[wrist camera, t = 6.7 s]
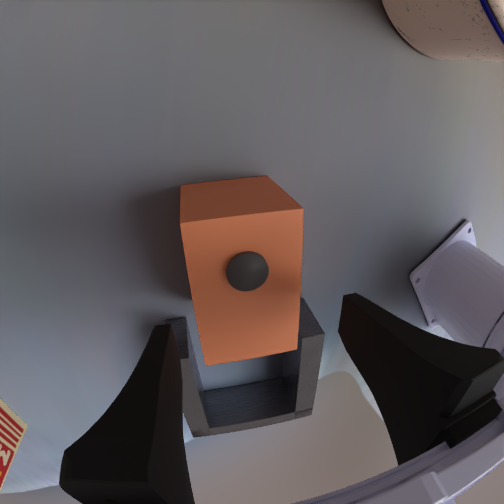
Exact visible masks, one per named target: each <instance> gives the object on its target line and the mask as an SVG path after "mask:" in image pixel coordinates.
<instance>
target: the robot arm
mask: <svg viewBox="0 0 504 504" xmlns="http://www.w3.org/2000/svg"><path fill="white" fill-rule="evenodd" d="M410 280H411V282H412V285H413V287H414V289H415V292H416V294H417V297H418V299H419V302H420V304H421V307H422V309H423V312H424V314H425V317H426V320H427V322H428V325H429V327H430V328H431V329H434V328H436V327H437V326H438V325H440V326H441V327H442V328H443V329H444V330H445V331H446V332H447V333H448V334H449V335H450V336H451V337H452V338H453V339H454V341H451V340H448V339H445V338H442V337H439V336H437V335H434V334H431V333H429V332H427V331H424V330H422V329H420V328H418V327H415V326H413V325H412V324H410V323H408V322H406V321H404V320H402V319H400V318H398V317H397V316H395V315H393V314H391V313H390V312H388V311H386V310H385V309H383V308H381V307H380V306H378V305H376V304H375V303H373V302H371V301H370V300H368V299H366V298H364V297H363V296H361V295H359V294H357V293H353V294H348V295H343V303H342V309H341V316H340V322H339V328H338V333H339V335H340V337H341V340H342V342H343V344H344V346H345V349H346V351H347V352H348V354H349V356H350V357H351V359H352V361H353V362H354V364H355V366H356V367H357V369H358V370H359V372H360V374H361V375H362V377H363V378H364V380H365V382H366V383H367V385H368V387H369V388H370V390H371V392H372V394H373V396H374V398H375V400H376V403H377V405H378V407H379V409H380V412H381V414H382V417H383V419H384V422H385V424H386V427H387V430H388V432H389V435H390V438H391V441H392V444H393V448H394V451H395V454H396V458H397V462H398V466H397V467H395V468H393V469H391V470H388V471H386V472H384V473H381V474H379V475H377V476H374V477H372V478H369V479H367V480H364V481H362V482H359V483H357V484H354V485H351V486H348V487H346V488H343V489H340V490H337V491H334V492H331V493H328V494H325V495H321V496H318V497H315V498H311V499H307V500H304V501H300V502H296V503H292V504H456V503H455V501H454V499H455V498H456V497H458V496H459V495H461V494H462V493H463V492H465V491H466V490H468V489H469V488H470V487H472V486H473V485H474V484H476V483H477V482H479V481H480V480H481V479H482V478H484V477H485V476H486V475H488V474H489V473H490V472H491V471H492V470H494V469H495V468H496V467H497V466H499V465H500V464H501V463H502V462H503V461H504V266H503V265H501V264H500V263H498V262H497V261H496V260H494V259H493V258H491V257H490V256H488V255H487V254H486V253H484V252H483V251H481V250H480V249H478V248H477V247H476V242H475V237H474V232H473V227H472V223H471V222H470V221H469V220H466V221H465V222H464V223H463V224H462V225H461V226H460V227H459V228H458V229H457V230H456V231H455V232H454V233H453V234H452V235H451V236H450V237H449V238H448V239H447V240H446V241H445V242H444V243H443V244H442V245H441V246H440V247H439V248H438V249H436V250H435V251H434V252H433V253H432V254H431V255H430V256H429V257H428V258H427V259H426V260H425V261H424V262H422V263H421V264H420V265H419V266H418V267H417V268H416V269H415V270H414V271H412V273H411V274H410ZM182 404H183V381H182V371H181V361H180V357H179V353H178V350H177V346H176V342H175V339H174V335H173V331H172V327H171V324H164V325H156V326H155V327H154V328H153V331H152V333H151V336H150V338H149V340H148V343H147V345H146V347H145V349H144V351H143V353H142V355H141V357H140V359H139V361H138V363H137V365H136V367H135V369H134V371H133V372H132V374H131V376H130V378H129V379H128V381H127V383H126V384H125V386H124V387H123V389H122V390H121V392H120V393H119V395H118V396H117V398H116V399H115V400H114V402H113V403H112V404H111V405H110V407H109V408H108V409H107V411H106V412H105V413H104V414H103V415H102V416H101V418H100V419H99V420H98V421H97V422H96V423H95V424H94V425H93V426H92V427H91V428H90V429H89V430H88V431H87V432H86V433H85V434H84V435H83V436H82V437H80V438H79V439H78V440H77V441H76V442H74V443H73V444H72V445H71V446H70V447H68V448H67V449H66V450H65V451H64V455H63V458H62V463H61V471H60V480H59V485H60V486H61V488H62V489H63V490H64V491H65V492H66V493H68V494H69V495H71V496H72V497H73V498H75V499H76V500H78V501H79V502H81V503H82V504H195V502H194V498H193V493H192V488H191V483H190V478H189V472H188V466H187V461H186V454H185V446H184V439H183V413H182Z"/></svg>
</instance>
